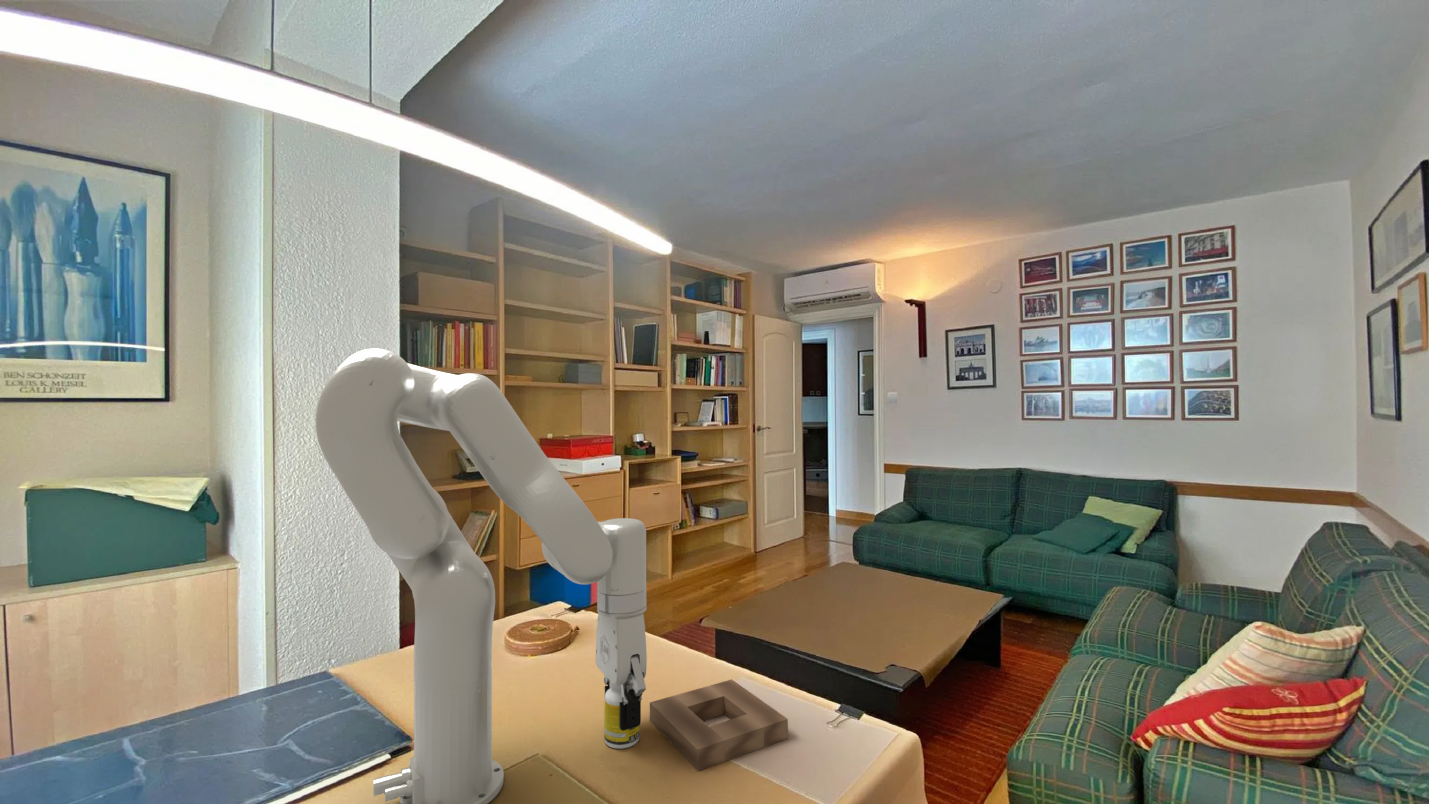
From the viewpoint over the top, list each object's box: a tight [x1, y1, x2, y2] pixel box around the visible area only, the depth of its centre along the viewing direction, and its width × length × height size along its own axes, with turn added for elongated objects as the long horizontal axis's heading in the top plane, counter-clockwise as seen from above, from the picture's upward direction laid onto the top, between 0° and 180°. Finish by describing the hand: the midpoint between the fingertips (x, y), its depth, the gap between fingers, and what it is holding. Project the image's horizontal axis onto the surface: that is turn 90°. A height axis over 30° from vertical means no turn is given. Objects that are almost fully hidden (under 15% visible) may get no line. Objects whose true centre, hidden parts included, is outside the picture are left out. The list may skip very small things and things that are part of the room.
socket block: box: [649, 679, 789, 772], centre depth 94 cm, size 16×16×3 cm
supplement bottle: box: [603, 675, 641, 750], centre depth 92 cm, size 5×5×10 cm
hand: (622, 717), depth 92 cm, fingers closed on supplement bottle, 5 cm apart
